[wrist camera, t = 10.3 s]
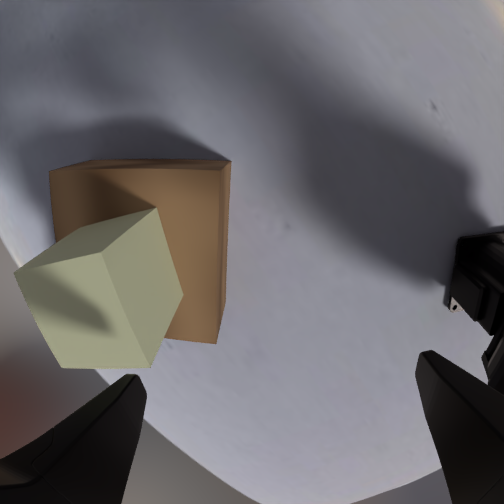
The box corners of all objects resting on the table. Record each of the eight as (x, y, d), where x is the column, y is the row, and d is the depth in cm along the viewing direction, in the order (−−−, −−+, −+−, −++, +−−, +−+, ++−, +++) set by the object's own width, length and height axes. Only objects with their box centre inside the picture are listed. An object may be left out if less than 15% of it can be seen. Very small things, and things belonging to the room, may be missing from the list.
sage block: (156, 207, 15) (100, 252, 10) (183, 294, 17) (150, 367, 11) (80, 227, 16) (13, 272, 10) (109, 304, 18) (61, 367, 12)
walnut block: (231, 160, 19) (220, 170, 14) (225, 301, 23) (216, 344, 18) (90, 160, 19) (48, 171, 15) (102, 287, 23) (72, 322, 18)
